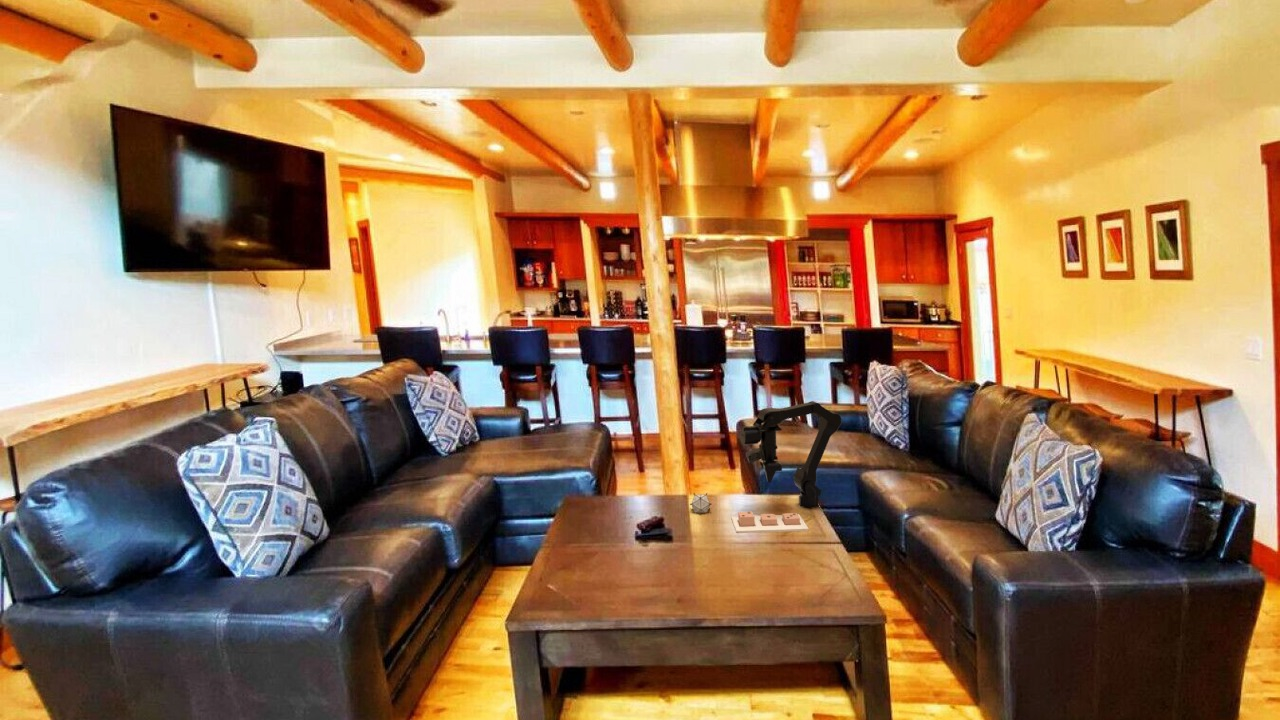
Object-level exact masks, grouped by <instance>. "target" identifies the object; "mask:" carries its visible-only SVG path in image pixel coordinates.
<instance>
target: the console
mask: <svg viewBox="0 0 1280 720" xmlns="http://www.w3.org/2000/svg"><path fill="white" fill-rule="evenodd" d="M797 515H798V516H799V518H800V525H784V523H783V514H775V516H776V518H777V526H762V524H761V522H760V515H754V519H755V526H747V527H740V525H739V523H738V515H737V516H731V517H730V518H731V521H732V525H733V527H734V530H735V533H736V534H749V533H750V534H751V533H777V532H778V533H779V532H780V533H782V532H808V531H809V530H810V529H809V527H808V525H807V524H806V523H805V521H804V519H803V518H802V517H801V515H800V514H799V513H798V514H797Z"/></svg>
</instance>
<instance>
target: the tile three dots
mask: <svg viewBox="0 0 1280 720" xmlns="http://www.w3.org/2000/svg"><path fill="white" fill-rule="evenodd" d="M782 515H783V523H784V525H800V518H799V516H798V515H797V512H792V513H789V512H788V513H787V512H786V513H782Z"/></svg>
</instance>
